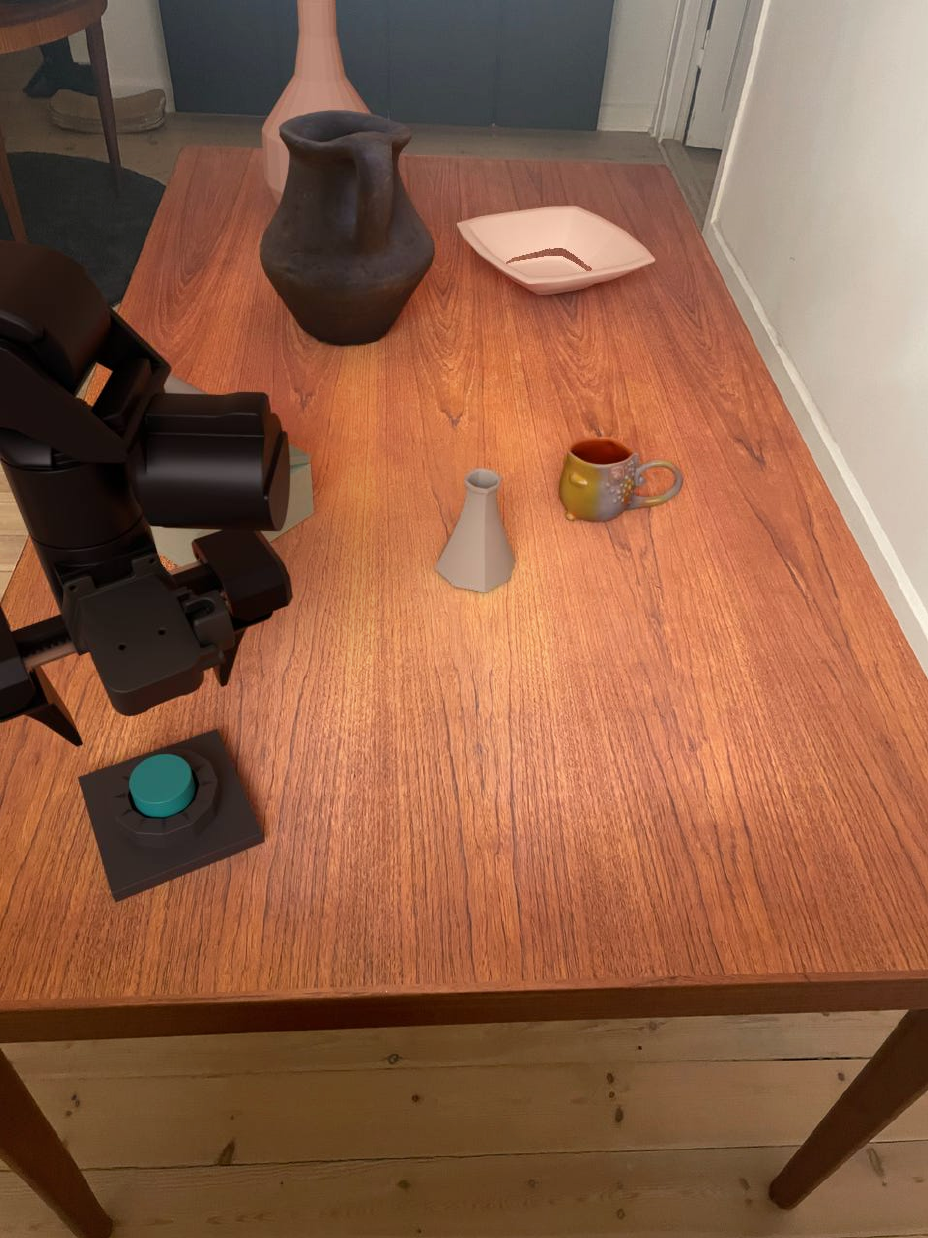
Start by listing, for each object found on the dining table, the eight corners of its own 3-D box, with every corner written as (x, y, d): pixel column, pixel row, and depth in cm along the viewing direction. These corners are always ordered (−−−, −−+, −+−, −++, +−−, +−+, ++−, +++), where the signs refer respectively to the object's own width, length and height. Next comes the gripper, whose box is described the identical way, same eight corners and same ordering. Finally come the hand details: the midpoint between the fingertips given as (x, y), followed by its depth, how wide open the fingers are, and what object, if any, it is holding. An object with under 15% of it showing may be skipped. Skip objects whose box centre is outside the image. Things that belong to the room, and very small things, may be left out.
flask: (528, 561, 85) (540, 473, 78) (488, 604, 80) (497, 515, 73) (463, 532, 87) (469, 444, 80) (420, 572, 83) (423, 483, 76)
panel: (115, 903, 58) (105, 879, 56) (81, 786, 65) (71, 761, 62) (264, 842, 62) (260, 818, 60) (219, 738, 68) (213, 712, 66)
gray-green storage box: (205, 584, 80) (196, 533, 76) (122, 529, 85) (108, 478, 81) (314, 513, 88) (311, 463, 84) (232, 466, 93) (225, 417, 89)
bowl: (440, 260, 131) (442, 220, 127) (576, 239, 139) (581, 200, 135) (516, 330, 117) (521, 287, 113) (662, 301, 126) (671, 260, 122)
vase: (253, 240, 132) (227, -6, 111) (286, 196, 145) (269, -31, 124) (371, 253, 131) (368, 8, 110) (394, 209, 144) (395, -19, 123)
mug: (555, 522, 89) (564, 466, 85) (557, 481, 94) (566, 426, 89) (677, 536, 89) (693, 480, 84) (673, 494, 94) (687, 439, 89)
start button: (142, 827, 60) (137, 812, 58) (127, 781, 62) (122, 766, 61) (202, 804, 61) (198, 789, 60) (185, 760, 64) (181, 745, 62)
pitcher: (394, 281, 125) (395, 77, 108) (462, 356, 112) (475, 136, 94) (248, 303, 118) (223, 89, 101) (301, 385, 105) (283, 154, 87)
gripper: (-85, 688, 38) (31, 880, 49) (322, 541, 45) (343, 736, 56) (-126, 540, 44) (-15, 738, 55) (235, 433, 52) (269, 626, 63)
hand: (152, 710), depth 57 cm, fingers open, 9 cm apart
